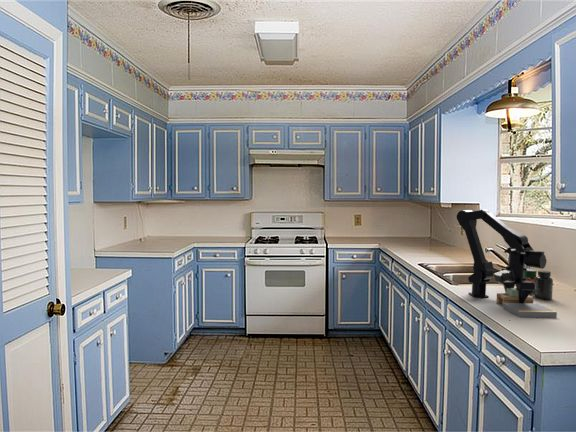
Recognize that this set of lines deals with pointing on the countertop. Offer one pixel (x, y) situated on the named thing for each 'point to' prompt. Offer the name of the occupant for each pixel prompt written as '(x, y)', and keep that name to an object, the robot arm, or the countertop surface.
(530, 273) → the canned tomato
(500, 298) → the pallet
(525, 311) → the dock
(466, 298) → the countertop surface
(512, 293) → the pale green block
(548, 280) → the supplement bottle
